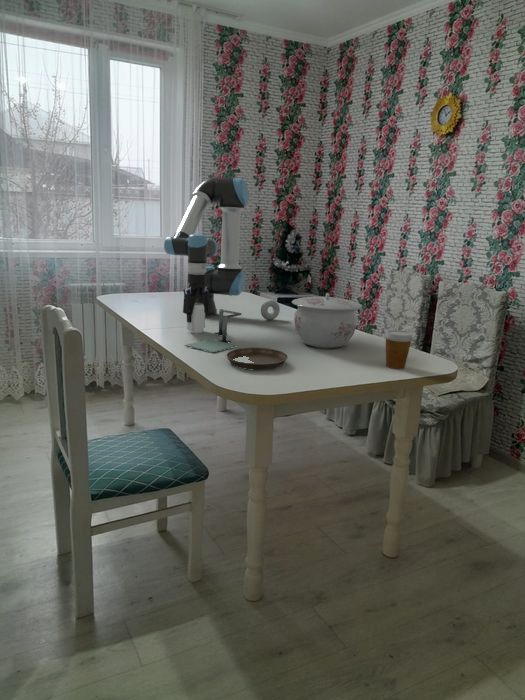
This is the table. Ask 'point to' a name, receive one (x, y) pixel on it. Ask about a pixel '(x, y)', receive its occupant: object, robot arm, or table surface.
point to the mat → (211, 345)
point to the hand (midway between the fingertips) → (196, 328)
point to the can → (198, 318)
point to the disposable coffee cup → (397, 348)
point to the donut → (265, 309)
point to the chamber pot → (325, 321)
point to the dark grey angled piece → (225, 324)
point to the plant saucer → (258, 358)
